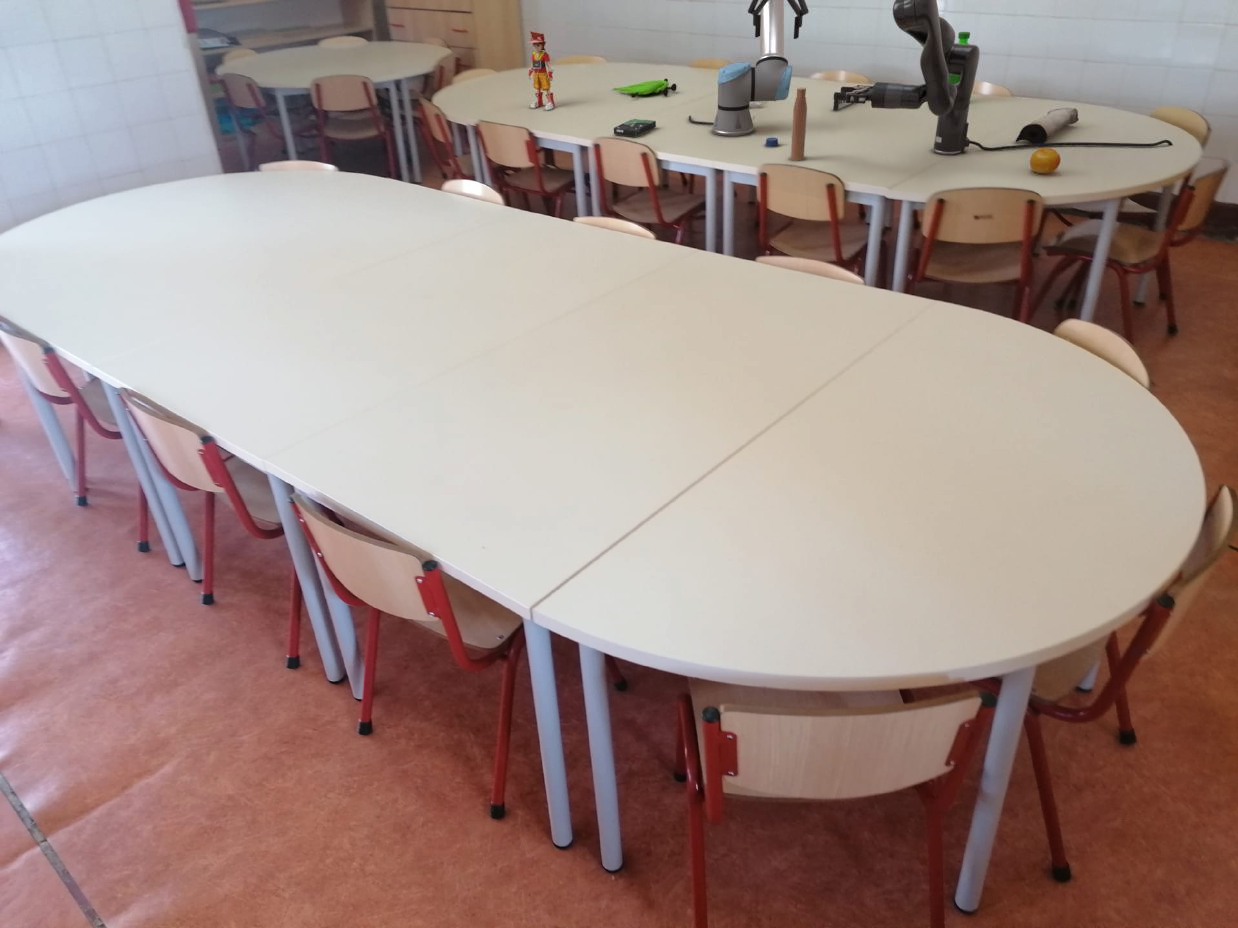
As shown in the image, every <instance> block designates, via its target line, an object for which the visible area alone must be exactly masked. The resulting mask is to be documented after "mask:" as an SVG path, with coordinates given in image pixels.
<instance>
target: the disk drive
mask: <svg viewBox="0 0 1238 928" xmlns="http://www.w3.org/2000/svg"><path fill="white" fill-rule="evenodd" d="M656 127H657V122H656V120H650V119H649V120H648V119H639V118H637V119H636V118H634V119H633V118H632V119H630V120H627V121H626V122H623V123H621V124H619V125H616V126H614V127H613V135H615V136H616V135H617V136H624V137H633V138H634V137H635V138H636V137H640V136H641V135H643V134H646V133H647V132H649V131H652V130H654V129H656Z"/></svg>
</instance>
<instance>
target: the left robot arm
mask: <svg viewBox="0 0 1238 928" xmlns="http://www.w3.org/2000/svg"><path fill="white" fill-rule="evenodd" d="M786 1H787V3H788V5H789V6H790V8H791V9H792V10H793V12H794V14H795V15H796V16H794V25H793V40H797V39H799V38H800V28H802V27H803V17H804V16H805V15H808V14H809V13H810V12H809V8H808V6H807V2H806V0H797V1H796V0H786ZM758 3H759V4H758ZM747 13H748V14H750V15H752V26H753V27H755V28H754V30H755V31H754V38H759V59H758V60H757V61H756V62H755V66H752V65H751V63H750V62H747V61H746V62H735V63H730V64H727V65H724V66H722V67H720V69H719V70H718V75H717V111H716V114H715V118H714V120H713V122H712V121H700V120H699V121H698V120H693V119H692V116H691V115H688V121H689V122H690V123H692V124H697V125H706V126H709V125H710V126H712V133H713V134H715V135H717V136H721V137H741V136H746V135H750V134H752V133H754V127H755V126H754V122H753V121H754V120H755V116H753V118H752V115H751V111H750V108H749V102H754V101H756V102H778V101H779V102H780V101H785V100H786V99H788V97H789V94H790V88H791V81H792V74H793V66H792V65H790V64H789V60H788V58H786V57H785V32H784V31H785V0H752V1H751V3H750V5H749V7H748V9H747Z"/></svg>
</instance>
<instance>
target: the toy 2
mask: <svg viewBox="0 0 1238 928" xmlns="http://www.w3.org/2000/svg"><path fill="white" fill-rule="evenodd" d="M669 85H670V83H669V79H668V78H664V79H663V80H649V81H644V82H640V83H634V84H629V85H627V86H621V87H613V88H612V89H613V90H616V91H619V92H623V93H627V94H628V93H629V94H631V95H630V96H631V98H632V99H634V98H636V96H637V95H650V94H652V93H654V94H658V93H662V95H663V96H665V97H667V96H668V95H669V90H671V91H672V92H676V91H677V84H676V83H672V84H671V86H669Z"/></svg>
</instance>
